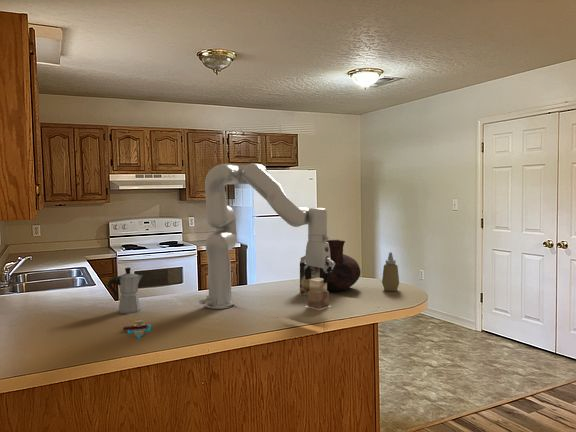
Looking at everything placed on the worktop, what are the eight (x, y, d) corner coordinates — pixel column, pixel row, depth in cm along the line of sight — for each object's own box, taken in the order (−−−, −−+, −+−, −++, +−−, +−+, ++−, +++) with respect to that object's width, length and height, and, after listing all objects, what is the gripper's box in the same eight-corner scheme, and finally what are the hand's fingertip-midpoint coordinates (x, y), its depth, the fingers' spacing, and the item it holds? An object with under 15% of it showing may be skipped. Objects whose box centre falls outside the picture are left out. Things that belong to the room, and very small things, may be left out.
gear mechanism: (121, 341, 155) (151, 338, 158) (121, 325, 155) (150, 323, 157) (124, 324, 174) (150, 322, 177) (124, 310, 174) (150, 308, 177)
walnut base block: (319, 309, 184) (319, 294, 184) (308, 306, 188) (307, 291, 188) (329, 306, 188) (328, 291, 188) (317, 303, 192) (317, 289, 192)
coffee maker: (139, 306, 199) (137, 264, 198) (149, 309, 193) (147, 266, 191) (104, 313, 189) (102, 269, 187) (114, 317, 182) (112, 272, 181)
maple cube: (318, 293, 184) (318, 281, 184) (309, 291, 188) (309, 279, 187) (327, 291, 188) (326, 279, 188) (317, 289, 191) (317, 277, 191)
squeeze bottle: (401, 292, 216) (401, 253, 215) (383, 292, 216) (383, 253, 215) (397, 288, 224) (397, 251, 223) (380, 288, 224) (380, 251, 223)
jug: (366, 285, 230) (366, 235, 229) (351, 297, 208) (350, 241, 206) (319, 281, 241) (319, 234, 239) (300, 292, 218) (299, 239, 217)
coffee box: (299, 298, 207) (298, 262, 206) (300, 294, 214) (299, 260, 213) (319, 298, 206) (319, 262, 205) (320, 295, 213) (319, 260, 212)
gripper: (340, 239, 183) (340, 282, 184) (307, 236, 195) (307, 276, 196) (328, 241, 178) (328, 285, 179) (295, 237, 190) (295, 279, 191)
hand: (317, 280), depth 188 cm, fingers open, 9 cm apart
